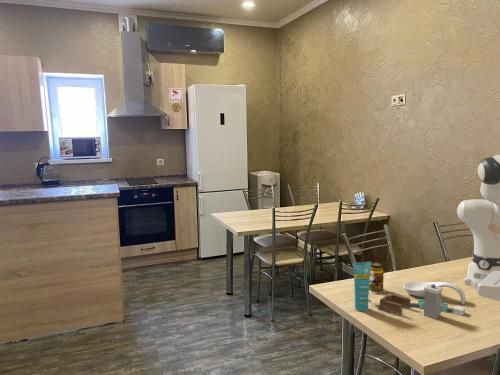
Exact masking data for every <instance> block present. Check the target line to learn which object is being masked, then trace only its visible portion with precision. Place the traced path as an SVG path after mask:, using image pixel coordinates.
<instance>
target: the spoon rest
mask: <svg viewBox="0 0 500 375" xmlns="http://www.w3.org/2000/svg"><path fill="white" fill-rule="evenodd" d="M429 284H430V285H431V284H434V285H435V286H439V287H442V288H449V289H452V290H454V291H456V292H457V293H458V294H459V297H460V302H461V303H460V304H462V305H465V303H466V296H465V295H466V294H465V292H464V291H463V290H462V288H461V287H459V286H458V285H456V284H454V283H452V282H448V281H436V282H435V281H416V280H415V281H408V282H405V283H404V284H403V285H402V287H403V289H404V291H406V292H407V293H408V294H410V295H412V296H414V297H418V298H425V291H424V287H426V286H427V285H429Z"/></svg>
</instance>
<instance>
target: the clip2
mask: <svg viewBox="0 0 500 375" xmlns="http://www.w3.org/2000/svg"><path fill="white" fill-rule="evenodd" d="M417 303H419V307H418V308H419V309H422V310H424V299H417Z"/></svg>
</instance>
